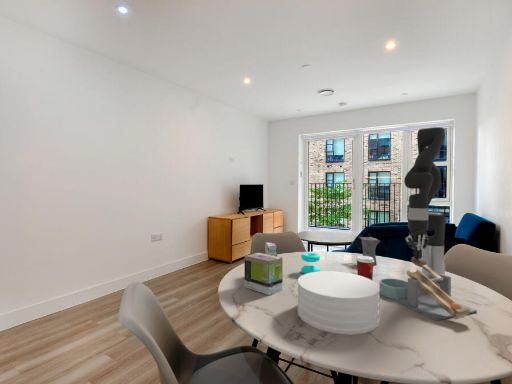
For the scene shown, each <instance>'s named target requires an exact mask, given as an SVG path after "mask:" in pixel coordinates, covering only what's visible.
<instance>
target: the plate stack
mask: <svg viewBox="0 0 512 384" xmlns="http://www.w3.org/2000/svg"><path fill="white" fill-rule="evenodd" d="M380 294H381V293H380V288H379V284H378V283H377V282H375V281H374V280H373V279H372V280H370V279H368V278H365V277H363V276H359V275H358V274H354V273H350V272H343V271H331V270H324V271H323V270H322V271H321V270H320V271H319V272H311V273H307V274H304V273H303V274H302V275H301V276H299V277H298V279H297V314H298V316H299V318H300V319H301V320H302V321H303V322H304V323H306V324H308V325H309V326H311V327H313V328H316V329H318V330H321V331H325V332H329V333H333V334H338V335H339V334H340V335H360V334H364V333H369V332H371V331H374V330H376V328H378V326H379V324H380Z"/></svg>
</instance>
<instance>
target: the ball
mask: <svg viewBox="0 0 512 384" xmlns="http://www.w3.org/2000/svg"><path fill="white" fill-rule="evenodd" d="M456 302H457V301H456ZM456 302H454V303H452V304H451V308H452V309H453V310H454V311H455V310H457V309H462V307H461V305H460V304H461V303H459V302H457V303H456Z"/></svg>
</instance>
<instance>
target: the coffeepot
mask: <svg viewBox="0 0 512 384" xmlns="http://www.w3.org/2000/svg"><path fill="white" fill-rule="evenodd" d="M359 240H360V241H361V246H362V248H361V247H360V244H359ZM354 241H355V244H356V247H357V250H358V251H361V250H362V254H361V256H369V257H372V258H373V259H374V263H373V267H374V266H377V265H378V264H377V257H376V248H377V246H378V244H379V243H380V242H381V240H379V239H377V237H375V238H374V237H372V236H371V233H368V234H367V236H365V237H364V236H356V237H355V238H354Z"/></svg>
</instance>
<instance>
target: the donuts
mask: <svg viewBox="0 0 512 384" xmlns="http://www.w3.org/2000/svg"><path fill="white" fill-rule="evenodd" d="M300 257H301V259H302V261H303V262H307V263H317V262H319V261H320V259H321V256H320V254H318V253H316V252H304V253H302V254H301V256H300ZM319 271H321V269H320V267H319V266H317V265H315V264H305V265H303V266H301V269H300V272H301V273H302V274H303V275H304V274H307V273H311V272H319Z"/></svg>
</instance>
